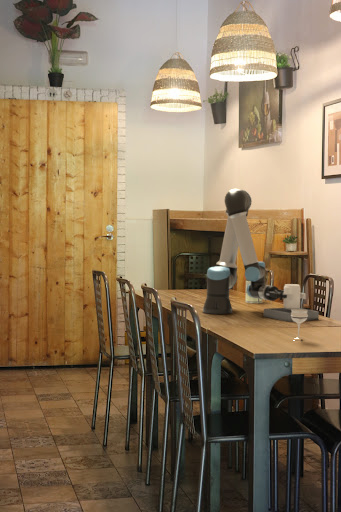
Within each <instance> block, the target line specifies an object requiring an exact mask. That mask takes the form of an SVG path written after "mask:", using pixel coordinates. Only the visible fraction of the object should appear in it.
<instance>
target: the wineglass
mask: <svg viewBox="0 0 341 512" xmlns="http://www.w3.org/2000/svg"><path fill="white" fill-rule="evenodd" d="M302 309H303V308H301V309H292V310H291V311H292V313H291V318H292V320H293V321H292V322H294V323H296V325H297V337H296V338H294V339H302V338H300V329H301V328H300V327H301V324H302V323H304V322H305V320H306V319H307V317H308V315H307V311H308V310H309V309H306V310H302Z"/></svg>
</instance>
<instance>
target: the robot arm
mask: <svg viewBox="0 0 341 512" xmlns="http://www.w3.org/2000/svg"><path fill="white" fill-rule="evenodd" d="M252 202H253V201H252V197H251V195H250V194H249V192H248V191H246V190H243V189H240V188H233V189H230V190H229V191H227V192H226V194H225V196H224V206H225V214H226V216H227V219H226V224H225V231H224V235H223V241H222V245H221V251H220V257H219V260H218V261H217V262H216V264H215V266H211V267H208V269H207V273H206V298H205V301H204V304H203V306H202V313H204V314H210V315H211V314H212V315H213V314H214V315H216V314H217V315H230V314H233V307H232V303H231V299H230V290H231V289H232V288H233V287H234V286H235V284H236V283H237V279H238V277H237V272H238V265H237V264H236V262H237V256H238V251H239V253H240V256H241V260H242V264H243V267H244V277H245V280H246V279H247V280H249V281H251V284H249V285H248V287H247V290H246V289H245V292H246V291H247V294H248V295H249V296H250V297H253V298H258V299H263V300H264V301H266V302H267V301H276V300H278V299H279V300H280V301H283V300H284V299H288V300H293V294H286V293H284V290H282V289H279V288H278V287H277V286H275V285H270V284H266V263H265V262H264V261H259V260H258V255H257V253H256V249H255V245H254V242H253V237H252V233H251V230H250V227H249V226H250V225H249V222H248V219H247V218H248V214H249V209H250V208H251V206H252ZM301 299H302V300H306V299H307V293H305V292H300V300H301Z"/></svg>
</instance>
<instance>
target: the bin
mask: <svg viewBox="0 0 341 512" xmlns="http://www.w3.org/2000/svg"><path fill="white" fill-rule="evenodd" d="M299 309H302V310H308V311H307V315H308V317H307V319H306V320H305V321H307V322H308V321H318V320H319V311H317V310H313V309H306V308H301V307H300V308H299ZM291 313H292V311H291V310H289V309H286V308H284V307H273V308H263V317H265V318H268V319H272V320H277V321H283V322H288V323H289V322H294V321H293V320H292V318H291ZM305 321H304V322H305Z"/></svg>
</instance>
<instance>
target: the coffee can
mask: <svg viewBox="0 0 341 512" xmlns="http://www.w3.org/2000/svg"><path fill="white" fill-rule="evenodd" d="M249 284H251V281H249V280H247V279H246V278H245V299H244V301H245V303H247V304H263V303H264V301H263V300H264V299H258V298H253V297H250V296H249V295H248V294H247V291H246V290H247V287H248V285H249Z"/></svg>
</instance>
